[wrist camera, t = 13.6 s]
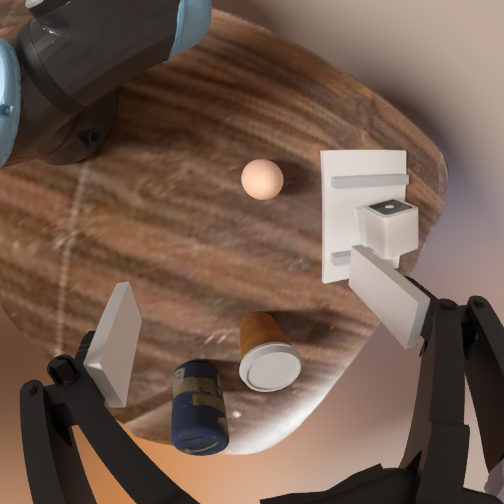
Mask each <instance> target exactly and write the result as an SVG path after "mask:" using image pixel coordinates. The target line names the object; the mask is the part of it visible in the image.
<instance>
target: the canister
mask: <svg viewBox="0 0 504 504" xmlns="http://www.w3.org/2000/svg"><path fill="white" fill-rule="evenodd" d="M171 433H172V436H171V439H172V443H173V445H174V446H175V447H176V448H177V449H178V450H179V451H181V452H184V453H187V454H190V455H197V456H204V455H212V454H215V453H218V452H220V451H222V450H224V449H225V448H226V447H227V445H228V443H229V432H228V425H227V418H226V410H225V405H224V398H223V391H222V383H221V377H220V374H219V372H218V371H217V370H216V369H215V368H214V367H213V366H211V365H209V364H207V363H203V362H189V363H185V364H183V365H181V366H180V367H178V368H177V369H176V371H175V372H174V375H173V390H172V424H171Z"/></svg>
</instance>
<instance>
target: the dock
mask: <svg viewBox="0 0 504 504" xmlns="http://www.w3.org/2000/svg"><path fill="white" fill-rule="evenodd" d="M321 173H322V213H323V251H322V282H323V283H329V282H334V281H339V280H344V279H349V274H350V259H351V246H355V245H361V244H362V245H363V246H365V247H366V248H367V249H369V250H370V251H371V252H373V253H374V254H375V255H377V256H378V257H379V258H380V259H382V260H383V261H384V262H386V263H387V264H388V265H390V266H391V267H392V268H393V269H395V268H398V266H399V258H400V255H399V256H397V257H394V258H391V259H385V258H383V257H382V256H381V255H379V254H378V253H377V252H375V251H374V250H373V249H371V248H370V247H369V246H367V243H366V241H363V242H360V241H359V240H357V238H356V228H355V218H354V209H355V208H358V207H362V206H366V205H369V204H373V203H377V202H380V201H384V200H388V199H392V198H397V199H399V200H402V201H404V202H405V190H406V185H407V184H409V175H406V151H405V150H321Z"/></svg>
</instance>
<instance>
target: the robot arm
mask: <svg viewBox="0 0 504 504" xmlns="http://www.w3.org/2000/svg"><path fill="white" fill-rule="evenodd" d="M25 5H26V7H27V9H28V10H29V11H30V12H31V14H32V15H33V16H34V17H33V18H32V19H31V20H30V21H28V22H27V23H26V24H25V25H24V26H23V27H21V28H20V29H19V30H18V31H17V32H16V33H15V34H13V35H12V36H11V37H10V38H9V39H8V40H5V39H3V38H0V168H3V167H6V166H10V165H13V164H17V163H21V162H25V161H29V160H33V159H39V160H41V161H43V162H45V163H48V164H51V165H68V164H72V163H76V162H79V161H81V160H83V159H85V158H87V157H89V156H90V155H91V154H93V153H94V152H95V151H96V150H97V149H98V148H99V147H100V146H101V145H102V143H103V142H104V141H105V139H106V138H107V136H108V134H109V132H110V130H111V128H112V126H113V123H114V119H115V115H116V94H115V90H114V89H116V88H117V87H119V86H120V85H122V84H124V83H125V82H127V81H129V80H130V79H132V78H134V77H135V76H137V75H139V74H141V73H142V72H144V71H146V70H148V69H150V68H152V67H153V66H155V65H157V64H159V63H166V62H168V61H170V60H171V59H172V58H173V57H174V56H175V55H177V54H179V53H181V52H183V51H185V50H187V49H189V48H191V47H193V46H195V45H196V44H198V43H199V42H200V41H201V40H202V39H203V38H204V36H205V35H206V34H207V32H208V30H209V27H210V22H211V0H27V1H26V4H25ZM349 287H350V288H351V289H352V290H353V291H354V292H355V293H356V294H357V295H358V296H359V297H360V298H361V300H362V301H363V302H364V303H365V304H366V305H367V306H368V307H369V308H370V309H371V311H372V312H373V313H374V314H375V315H376V316H377V317H378V318H379V320H380V321H381V322H382V323H383V324H384V325H385V326H386V327H387V329H388V330H389V331H390V332H391V333H392V334H393V335H394V336H395V338H396V339H397V340H398V341H399V342H400V344H401V345H402V346H403V347H404V348H405V349H408V348H411V347H413V346H416V345H417V344H418V341H419V338H420V335H421V336H422V337H423V338H424V339H425V340H424V343H423V346H422V349H421V352H420V355H419V356H420V357H421V355H422V359H421V367H420V376H419V383H418V390H417V397H416V402H415V408H414V413H413V419H412V423H411V428H410V432H409V437H408V441H407V445H406V449H405V453H404V456H403V459H402V461H401V463H400V465H399V467H398V468H384V469H383V468H382V466H381V464H377V465H375V466H373V467H370V468H368V469H365V470H363V471H360V472H358V473H355V474H353V475H351V476H350V477H348V478H347V479H345V480H344V481H342V482H340V483H339V484H337V485H335V486H334V487H332V488H330V489H329V490H326V491H322V492H309V493H290V494H286V495H282V496H277V497H273V498H267V499H262V500H260V504H504V327H503V325H502V324H501V322H500V320H499V319H498V317H497V315H496V313H495V312H494V310H493V309H492V307H491V305H490V304H489V302H488V301H487V300H486V299H485V298H483V297H481V296H471V297H470V298H469V300H468V303H467V305H462V306H458V305H457V304H456V303H455V302H454V301H452V300H449V299H437V298H436V297H435V296H434V295H432V294H431V293H430V292H429V291H428V290H426V289H424V287H423V286H421V285H419V284H418V282H416V281H415V280H414V279H412V278H410V277H407V276H402V275H401V274H400V273H398V272H397V271H396V270H395V269H393V268H392V267H391V266H390V265H388V264H387V263H386V262H384V261H383V260H382V259H380V258H379V257H378V256H377V255H375V254H374V253H373V252H371V251H370V250H369V249H367V248H366V247H365V246H363V245H362V244H361V245H355V246H351V259H350V274H349ZM141 323H142V320H141V317H140V314H139V311H138V308H137V305H136V302H135V299H134V296H133V293H132V290H131V286H130V283H129V282H122V283H117V284H116V286H115V288H114V291H113V293H112V295H111V297H110V299H109V302H108V304H107V306H106V308H105V311H104V313H103V315H102V318H101V320H100V322H99V325H98V327H97V330H96V331H89V332H88V333H87V334H86V335H85V336H84V337H83V339H82V342H81V344H80V346H79V349H78V352H77V354H76V356H75V358H74V359H73V358H72V357H71V356H70V355H66V354H64V355H59V356H57V357H55V358H54V359H52V360H51V361H50V363H49V364H48V367H47V372H48V374H49V375H50V377H51V378H52V379H53V381H54V383H55V384H53V385H49V386H45V387H44V386H43V385H42V383H41V382H40V381H38V380H30V381H28V382H27V383H25V384H24V385H23V386H22V389H21V390H20V417H21V432H22V442H23V450H24V458H25V465H26V471H27V476H28V481H29V486H30V490H31V495H32V500H33V503H34V504H97V503H96V500H95V498H94V495H93V493H92V490H91V488H90V485H89V483H88V480H87V477H86V474H85V471H84V468H83V465H82V462H81V459H80V456H79V452H78V449H77V446H76V442H75V438H74V434H73V430H72V427H71V426H74V425H79V427H80V429H81V430H82V432H83V433H84V435H85V437H86V438H87V440H88V441H89V443H90V444H91V445H92V447H93V448H94V450H95V452H96V453H97V454H98V456H99V457H100V459H101V460H102V462H103V463H104V464H105V466H106V467H107V468H108V470H109V471H110V472H111V474H112V475H113V476H114V477H115V479H116V480H117V481H118V482H119V484H120V485H121V486H122V487H123V489H124V490H125V491H126V492H127V493H128V494H129V496H130V497H131V498H132V499H133V500H134V501H135V502H136V503H137V504H200V503H198V502H197V501H196V500H195V499H194V498H192V497H191V496H190V495H189V494H188V493H186V492H185V491H184V490H182V489H181V488H180V487H179V486H178V485H176V484H175V483H174V482H173V481H172V480H171V479H170V478H169V477H168V476H167V475H166V474H165V473H164V472H162V470H160V469H159V468H158V467H157V465H155V463H154V462H153V461H152V460H150V458H149V457H148V456H147V455H146V454H145V453H144V452H143V451H142V450H141V449H140V448H139V447H138V446H137V444H136V443H135V442H134V441H133V440H132V439H131V438H130V437H129V435H128V434H127V433H126V432H125V431H124V430H123V428H122V427H121V426H120V425H119V423H118V422H117V421H116V420H115V419H114V417H113V416H112V415H111V413H110V412H109V411H108V410H107V408H106V407H105V406H104V401H106V402H107V404H108V405H109V407H125V405H126V399H127V393H128V387H129V381H130V376H131V371H132V365H133V360H134V355H135V350H136V346H137V341H138V336H139V332H140V327H141ZM464 372H465V374H464ZM465 375H466V378H467V382H468V385H469V389H470V392H471V396H472V400H473V404H474V408H475V412H476V417H477V421H478V426H479V431H480V436H481V442H482V447H483V453H484V458H485V463H486V466H487V469H488V473H489V476H488V481H487V483H486V484H485V486H484V490H485V492H486V493H483V492H479V491H475V490H471V489H467V488H464V487H463V484H464V479H465V473H466V465H467V458H468V449H469V436H470V428H469V425H464V404H465V377H464V376H465Z"/></svg>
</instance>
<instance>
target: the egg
mask: <svg viewBox="0 0 504 504" xmlns="http://www.w3.org/2000/svg"><path fill="white" fill-rule="evenodd" d="M242 185H243V187H244V189H245V191H246V192H247V193H248V194H249V195H250V196H252V197H254V198H256V199H260V200H267V199H271V198H273V197H275V196H276V195H277V194H278V193H279V192H280V190H281V189H282V186H283V174H282V172H281V170H280V168H279V167H278V166H277V165H276V164H275V163H273V162H271V161H269V160H265V159H258V160H254V161H252V162H250V163H249V164H248V165H247V166H246V167H245V168H244V170H243V172H242Z"/></svg>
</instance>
